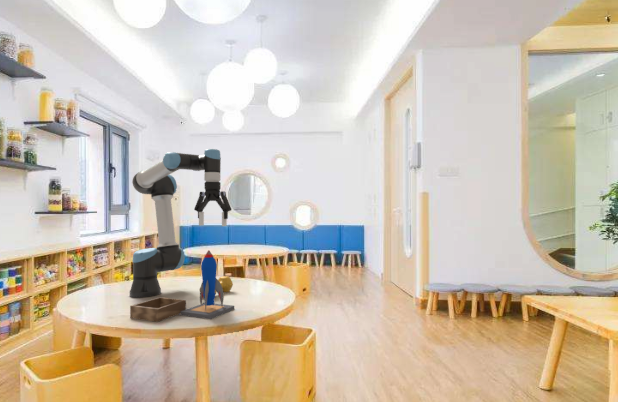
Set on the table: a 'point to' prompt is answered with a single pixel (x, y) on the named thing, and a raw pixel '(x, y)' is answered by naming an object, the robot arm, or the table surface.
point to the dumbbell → (225, 283)
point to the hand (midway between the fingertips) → (212, 225)
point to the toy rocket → (210, 281)
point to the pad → (207, 311)
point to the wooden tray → (157, 309)
